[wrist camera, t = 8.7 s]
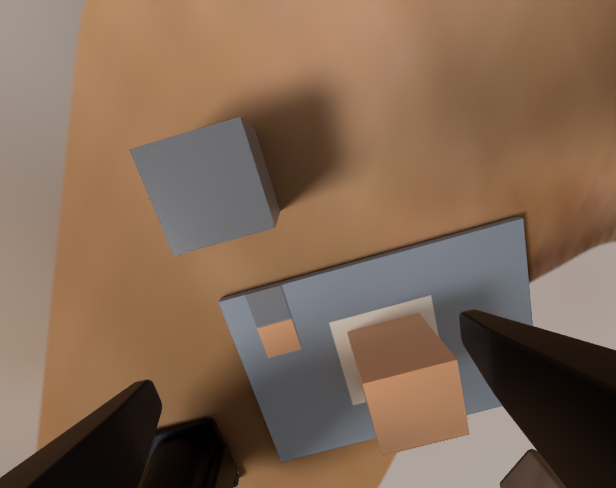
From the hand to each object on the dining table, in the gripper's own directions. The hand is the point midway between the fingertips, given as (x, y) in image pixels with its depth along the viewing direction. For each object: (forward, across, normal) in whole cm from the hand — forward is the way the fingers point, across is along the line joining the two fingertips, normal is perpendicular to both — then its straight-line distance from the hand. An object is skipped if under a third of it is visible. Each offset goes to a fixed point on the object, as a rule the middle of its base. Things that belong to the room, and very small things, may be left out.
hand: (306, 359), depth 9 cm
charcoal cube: (+12, +3, -5) cm, 13 cm away
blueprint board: (+11, -4, +9) cm, 15 cm away
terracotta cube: (+11, -4, +9) cm, 14 cm away
